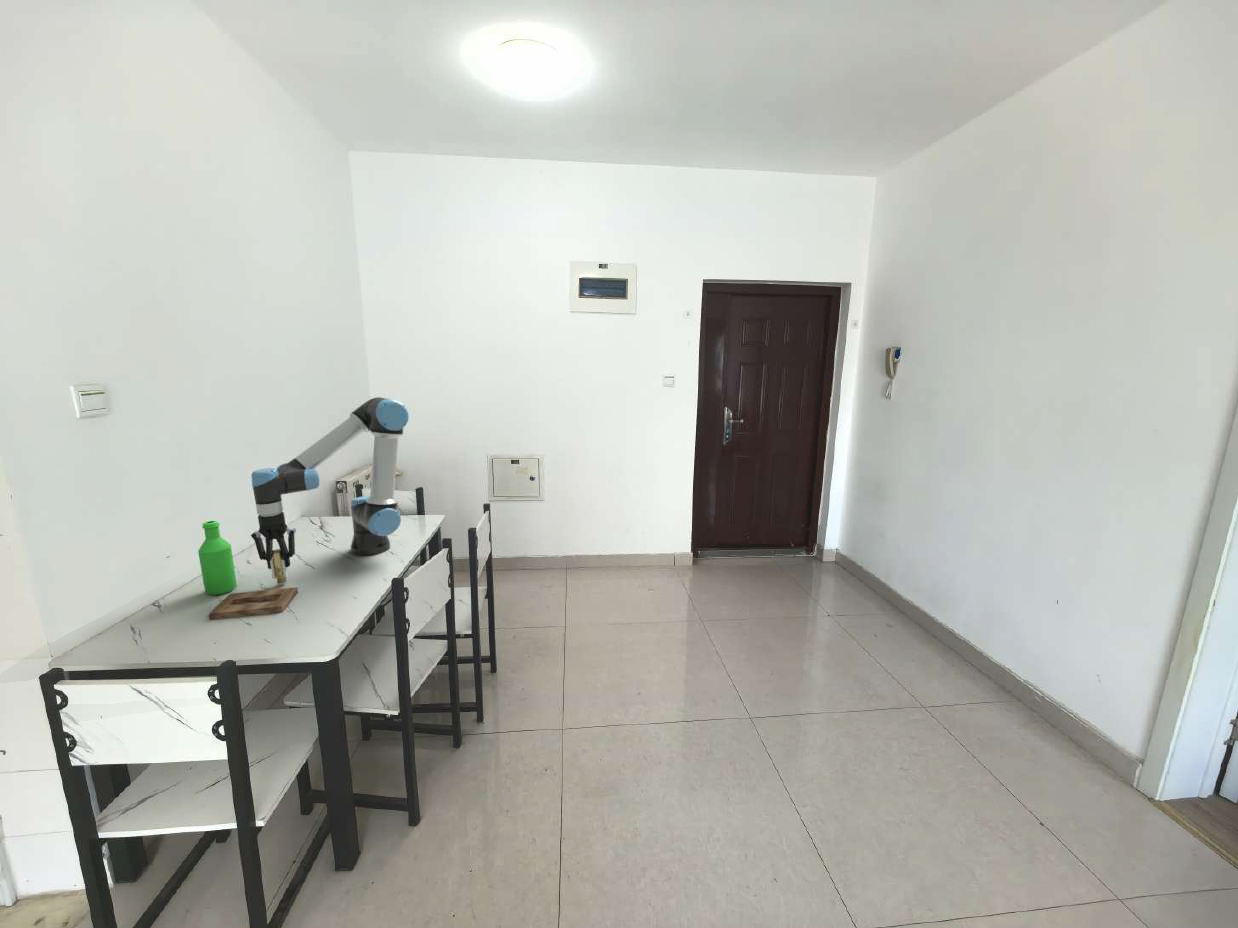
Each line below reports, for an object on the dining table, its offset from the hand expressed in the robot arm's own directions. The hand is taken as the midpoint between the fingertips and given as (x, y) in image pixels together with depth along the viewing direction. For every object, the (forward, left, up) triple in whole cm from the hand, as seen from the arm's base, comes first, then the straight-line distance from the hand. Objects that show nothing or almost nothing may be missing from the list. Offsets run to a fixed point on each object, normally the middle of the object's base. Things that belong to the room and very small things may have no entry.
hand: (280, 575), depth 180 cm
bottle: (+18, 0, -4) cm, 19 cm away
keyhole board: (+2, +15, -3) cm, 16 cm away
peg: (0, 0, -2) cm, 2 cm away
